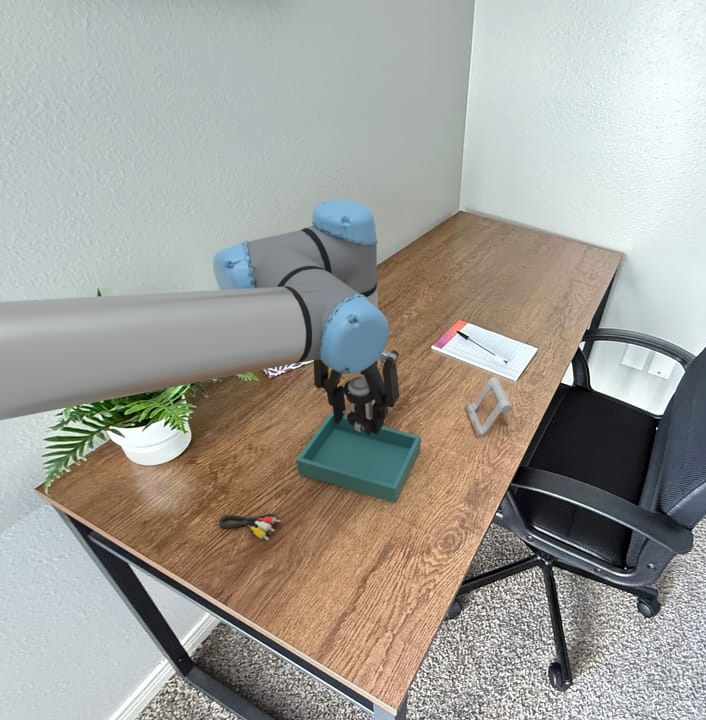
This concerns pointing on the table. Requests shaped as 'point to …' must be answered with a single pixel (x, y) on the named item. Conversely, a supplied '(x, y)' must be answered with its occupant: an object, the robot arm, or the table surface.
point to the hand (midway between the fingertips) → (359, 423)
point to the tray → (360, 458)
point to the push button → (359, 404)
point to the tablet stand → (501, 407)
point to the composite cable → (252, 523)
